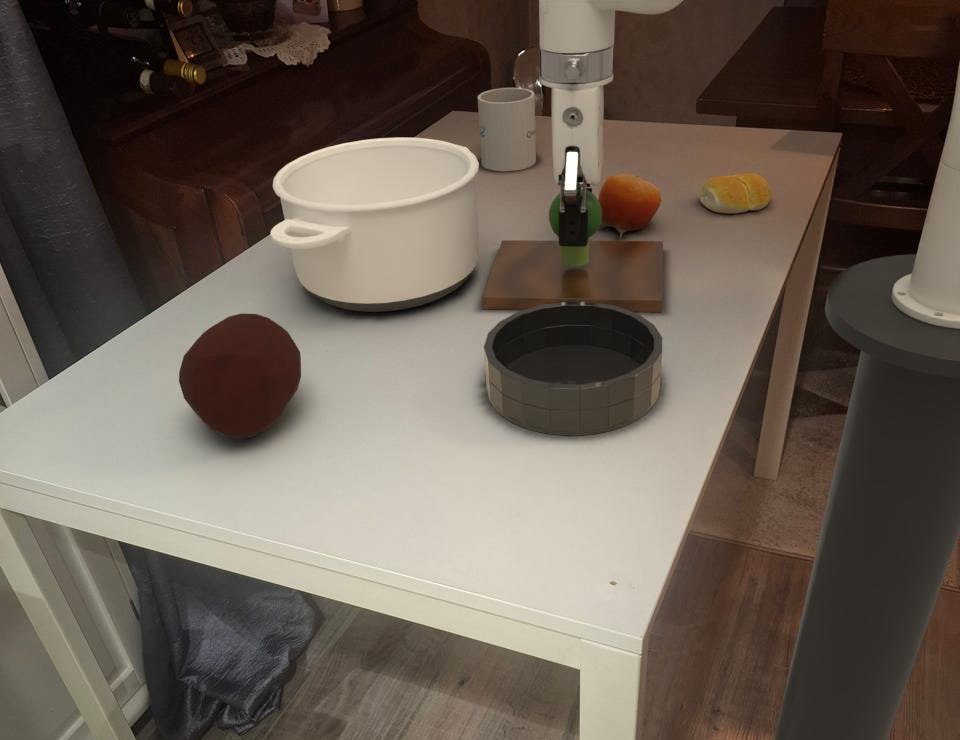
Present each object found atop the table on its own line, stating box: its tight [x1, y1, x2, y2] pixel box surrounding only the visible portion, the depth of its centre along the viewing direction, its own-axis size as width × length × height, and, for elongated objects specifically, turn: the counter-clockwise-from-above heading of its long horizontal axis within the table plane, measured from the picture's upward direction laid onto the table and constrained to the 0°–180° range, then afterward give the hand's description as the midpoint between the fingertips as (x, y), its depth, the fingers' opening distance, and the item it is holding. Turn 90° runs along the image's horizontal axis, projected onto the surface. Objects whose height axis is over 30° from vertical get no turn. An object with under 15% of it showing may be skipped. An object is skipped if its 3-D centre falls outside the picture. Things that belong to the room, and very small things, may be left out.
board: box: [481, 239, 664, 313], centre depth 105 cm, size 20×16×2 cm
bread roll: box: [699, 172, 772, 214], centre depth 120 cm, size 8×9×4 cm
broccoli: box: [548, 188, 602, 266], centre depth 102 cm, size 6×6×8 cm
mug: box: [477, 87, 537, 172], centre depth 139 cm, size 12×9×10 cm
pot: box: [269, 137, 480, 313], centre depth 105 cm, size 33×23×14 cm
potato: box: [178, 312, 302, 440], centre depth 83 cm, size 11×13×10 cm
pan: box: [483, 302, 663, 437], centre depth 85 cm, size 17×17×5 cm
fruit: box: [597, 172, 662, 239], centre depth 115 cm, size 8×8×8 cm
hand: (575, 232), depth 102 cm, fingers closed on broccoli, 5 cm apart
